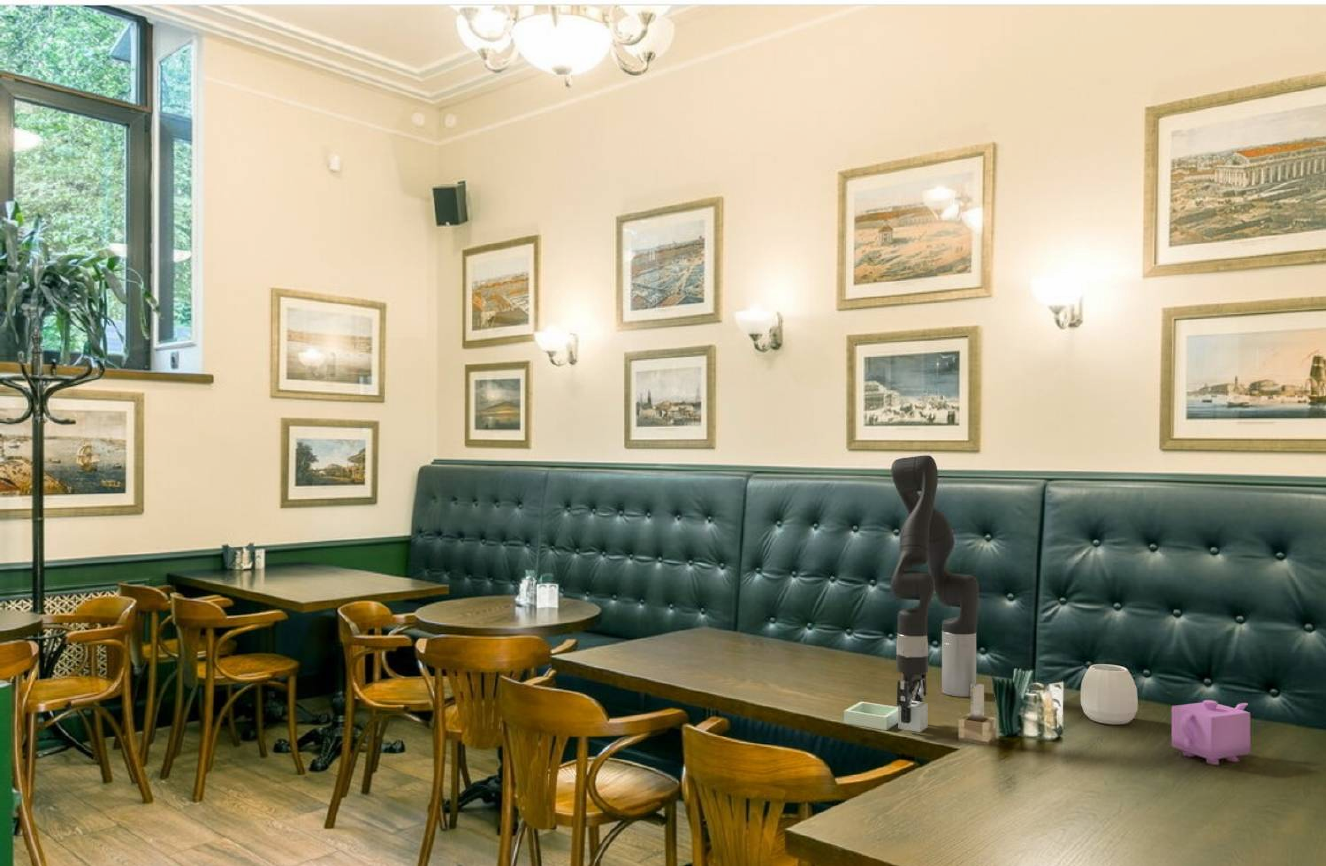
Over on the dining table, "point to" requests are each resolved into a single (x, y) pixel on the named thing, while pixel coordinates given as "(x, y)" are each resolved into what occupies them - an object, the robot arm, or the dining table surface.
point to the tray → (871, 715)
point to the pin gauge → (977, 702)
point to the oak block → (977, 730)
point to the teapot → (1211, 730)
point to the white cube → (915, 717)
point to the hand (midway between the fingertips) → (911, 718)
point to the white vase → (1109, 694)
